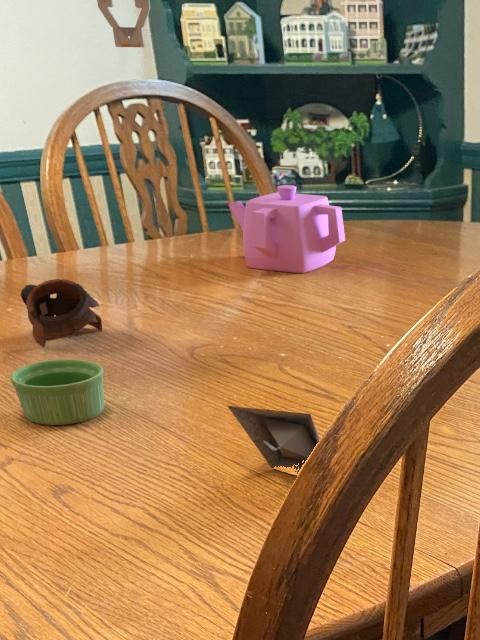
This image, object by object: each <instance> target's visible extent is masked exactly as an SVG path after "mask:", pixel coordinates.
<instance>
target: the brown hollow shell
mask: <svg viewBox="0 0 480 640" xmlns="http://www.w3.org/2000/svg"><path fill="white" fill-rule="evenodd" d="M51 295H55V297H51ZM20 298H21V300H22V302H23V304H24V305H25V306H26V309H27V318H28V320H29V322H30V325H32V337H33V339H34V342H36V344H38V345H40V347H43V348H45V347H46V345H47V342H49V341H52V340H58V339H61V338H66V337H68V336H69V337H70V336H73V335H75V334H76V331H78V332H79V331H82V330H83V329H84V328H85V327H86V326H90V327H94V328H96V329H97V330H99V331H100V332H101V331H103V321H102V317H101V316H100V315H99V314H98V313H96V312H95V311H93V310H92V308H96V307H99V306H100V304H99V302H98V301H97V300H96V299H95V298H93V297H92V296H91V294H90V293H89V292H87V291H86V289H85V288H84V287H83V286H82V285H81V284H79V283H76V282H75V281H72V280H69V279H60V278H55V279H48V280H45V281H44V282H41V283H38V285H36V284H26V285H25V286H24V287H23V288H22V289H21V292H20Z"/></svg>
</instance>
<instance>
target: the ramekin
mask: <svg viewBox="0 0 480 640" xmlns="http://www.w3.org/2000/svg"><path fill="white" fill-rule="evenodd" d="M104 372H105V371H104V368H103V366H101V365H100V364H99V363H96V362H95V361H91V360H86V359H78V358H62V359H61V358H60V359H58V358H57V359H50V360H42V361H39V362H38V361H37V362H33V363H29V364H27V365H23V366H21V367H19V368H17V369H16V370H14V371H13V372H12V373H11V374H10V378H9V379H10V382H11V384H12V386H13V387H14V389H15V392H16V394H17V398H18V400H19V403H20V407H21V410H22V412H23V415H24V417H25V418H26V419H27V420H28V421H31V422H33V423H36V424H39V425H45V426H65V425H74V424H78V423H83V422H86V421H89V420H92V419H94V418H96V417H98V416H99V415H100V414H102V413H103V411H104V410H105V406H106V405H105V404H106V403H105V391H104V380H103V379H104V375H105V374H104Z"/></svg>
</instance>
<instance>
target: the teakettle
mask: <svg viewBox="0 0 480 640" xmlns="http://www.w3.org/2000/svg"><path fill="white" fill-rule="evenodd" d="M276 189H277V192H271V193H268V194H264V195H261V196H257V197H254V198H251V199H249V200H247V201H246V202H245V205H244V204H243V203H242V201H241V200H238V201H232V202H229V203H227V205H228V208H229V209H230V211H231V213H232V215H233V216H234V219H236V222H237V223H238V225H239V227H240V228H241V231H242V234H243V235H242V238H243V239H242V246H243V247H242V248H243V249H242V250H243V256H244V259H245V262H246V265H247V267H248V268H249V269H256V270H264V271H272V272H281V273H282V272H283V273H293V274H305V273H309V272H311V271H315V270H317V269H319V268H323V267H325V266H326V265H328V264H330V263H331V262H332V261H333V260H334V258H335V255H336V250H337V246H338V245H341V243H343V242H345V241H346V234H345V226H344V218H343V211H342V206H338V205H331V204H330V203H329V199H328V196H326V195H318V194H308V193H307V194H306V193H296V192H297V186H296V185H292V184H282V185H278V186H277V187H276Z"/></svg>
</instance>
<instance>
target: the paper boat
mask: <svg viewBox="0 0 480 640" xmlns="http://www.w3.org/2000/svg"><path fill="white" fill-rule="evenodd" d="M227 408H228V409H229V411H230V412H231V414H232V415H233V416H234V417H235V419H236V421H237V422H238V424H240V427H242V429H243V430H244V431H245V433H246V435H248V437H249V439H250V440H251V441H252V443H253V444H254V445H255V447H256V448H257V450H258V451H259V453H260V454H261V455H262V457H263V458H264V460H265V461H266V462H267V464H268V465H269V466H270V468H271V469H272V468H274V467H275V466H276V467H278V466H279V467H280V466H282V467H283V466H284V467H286V468H287V467H291V468H292V466H293V465H294V464H295V465H298V463H299V465H298V466H297V467H296V466H295V465H294V469H295V468H296V470H297V469H298V467H299V470H300V469H301V467H302V465H303V464H304V463H305V461H306V460H307V458H308V457H309V455H310V454H311V452H312V451H313V449H314V447H315V446H316V444H317V443H318V442H319V440H321V437H320V435H319V432H318V430H317V427H316V425H315V423H314V419H313V417H312V415H311V413H303V412H294V411H286V410H276V409H275V410H274V409H265V408H253V407H245V406H235V405H227ZM303 460H304V462H303V463H302V461H303ZM299 470H298V471H297V474H298V472H299ZM295 472H296V471H295ZM296 476H297V475H296ZM296 476H295V477H296Z"/></svg>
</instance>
